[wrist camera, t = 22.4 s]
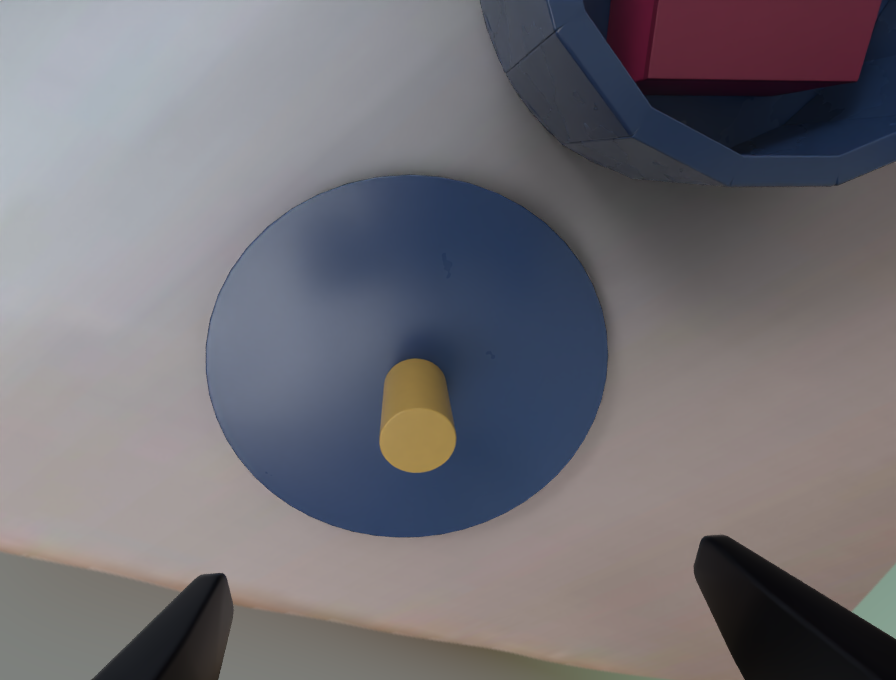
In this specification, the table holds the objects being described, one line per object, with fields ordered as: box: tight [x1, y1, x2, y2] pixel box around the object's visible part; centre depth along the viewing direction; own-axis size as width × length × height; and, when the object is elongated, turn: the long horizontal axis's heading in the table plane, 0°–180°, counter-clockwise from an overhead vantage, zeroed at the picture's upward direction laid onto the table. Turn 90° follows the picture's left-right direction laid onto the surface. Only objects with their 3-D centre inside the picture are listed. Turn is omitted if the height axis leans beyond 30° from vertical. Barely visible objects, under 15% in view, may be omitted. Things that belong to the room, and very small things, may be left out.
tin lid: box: [206, 175, 608, 537], centre depth 17 cm, size 17×17×5 cm
